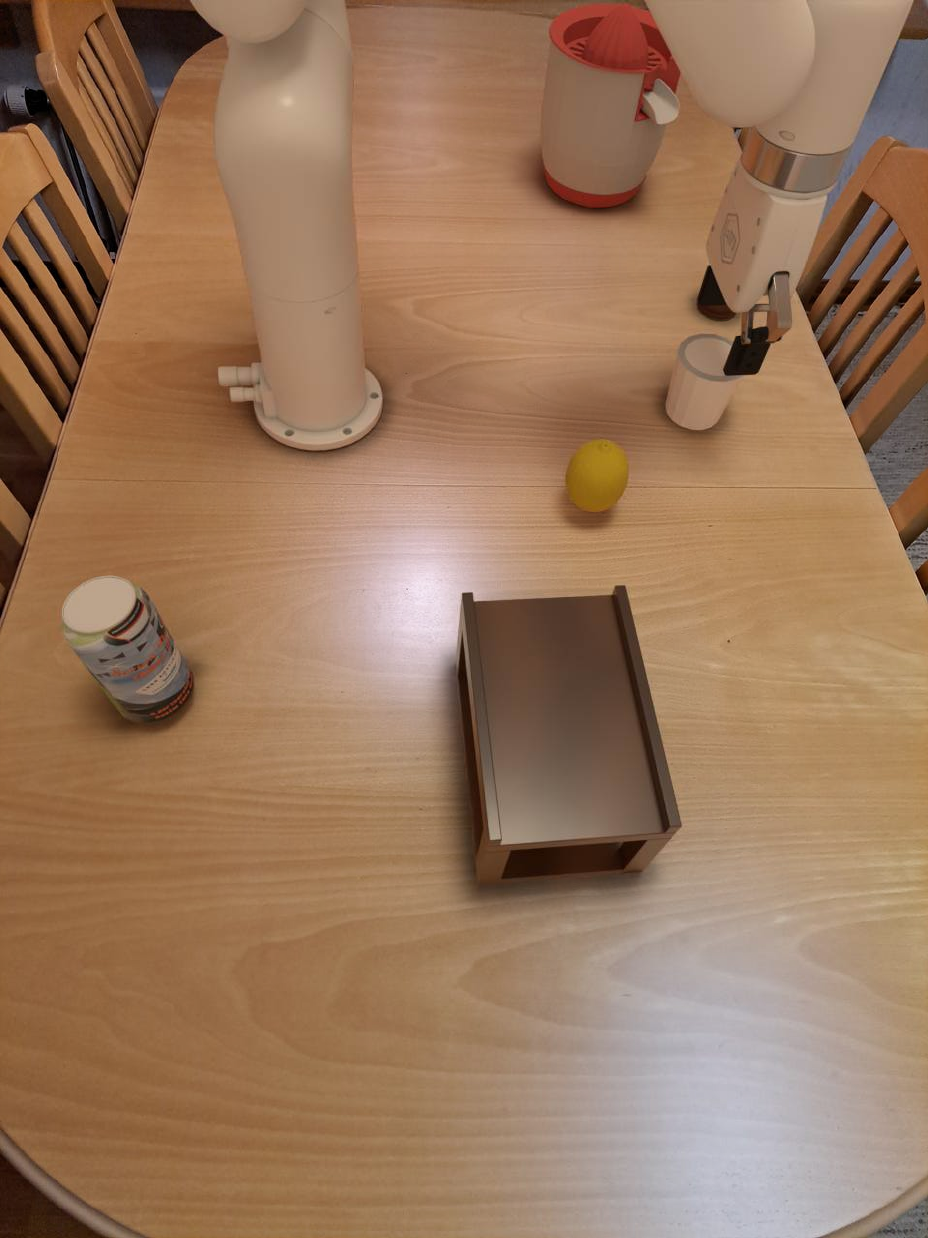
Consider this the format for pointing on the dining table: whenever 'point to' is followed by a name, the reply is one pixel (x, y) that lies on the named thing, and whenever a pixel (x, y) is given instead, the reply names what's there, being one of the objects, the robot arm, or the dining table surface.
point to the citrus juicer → (605, 102)
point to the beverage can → (127, 648)
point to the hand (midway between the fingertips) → (725, 337)
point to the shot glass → (700, 382)
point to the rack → (560, 739)
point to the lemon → (597, 475)
